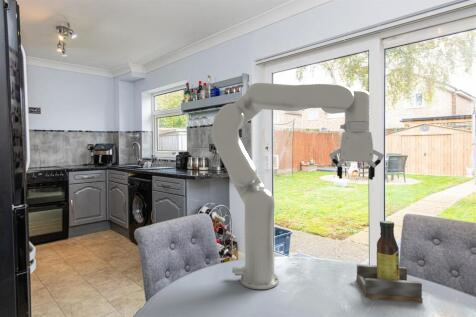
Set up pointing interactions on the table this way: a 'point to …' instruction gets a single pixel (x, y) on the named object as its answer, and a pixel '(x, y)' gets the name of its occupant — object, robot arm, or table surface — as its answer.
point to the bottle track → (388, 285)
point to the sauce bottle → (387, 253)
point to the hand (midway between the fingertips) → (355, 178)
